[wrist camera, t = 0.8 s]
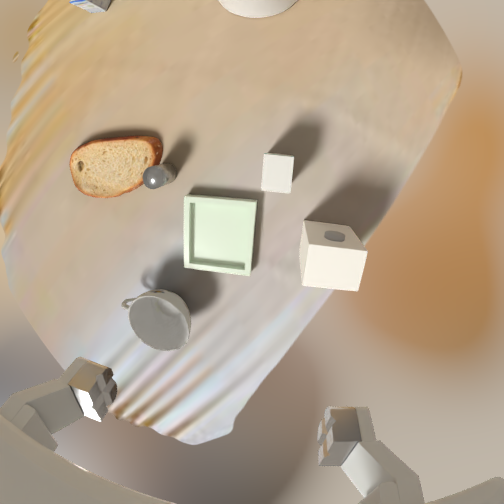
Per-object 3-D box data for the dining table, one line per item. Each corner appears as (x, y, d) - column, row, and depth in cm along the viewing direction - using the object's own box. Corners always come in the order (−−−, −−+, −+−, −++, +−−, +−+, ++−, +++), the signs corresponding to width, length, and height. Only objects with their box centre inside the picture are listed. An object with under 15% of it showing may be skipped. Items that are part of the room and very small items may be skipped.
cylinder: (158, 163, 46) (142, 166, 41) (177, 163, 46) (163, 166, 40) (157, 182, 48) (142, 188, 42) (176, 183, 47) (162, 189, 42)
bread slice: (171, 148, 45) (162, 149, 42) (123, 224, 52) (113, 230, 48) (106, 99, 43) (95, 97, 39) (67, 173, 49) (56, 176, 46)
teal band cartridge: (267, 152, 44) (263, 153, 36) (292, 155, 43) (294, 156, 36) (264, 183, 46) (260, 190, 38) (289, 185, 45) (290, 193, 38)
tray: (187, 194, 48) (184, 196, 46) (257, 200, 47) (256, 202, 45) (187, 263, 52) (184, 267, 51) (251, 271, 52) (249, 276, 50)
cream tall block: (304, 216, 47) (309, 239, 36) (349, 222, 46) (368, 247, 35) (298, 255, 49) (301, 288, 38) (342, 260, 49) (356, 294, 38)
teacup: (206, 289, 54) (194, 312, 47) (194, 336, 59) (183, 360, 51) (137, 264, 54) (117, 281, 47) (132, 311, 59) (115, 332, 51)
